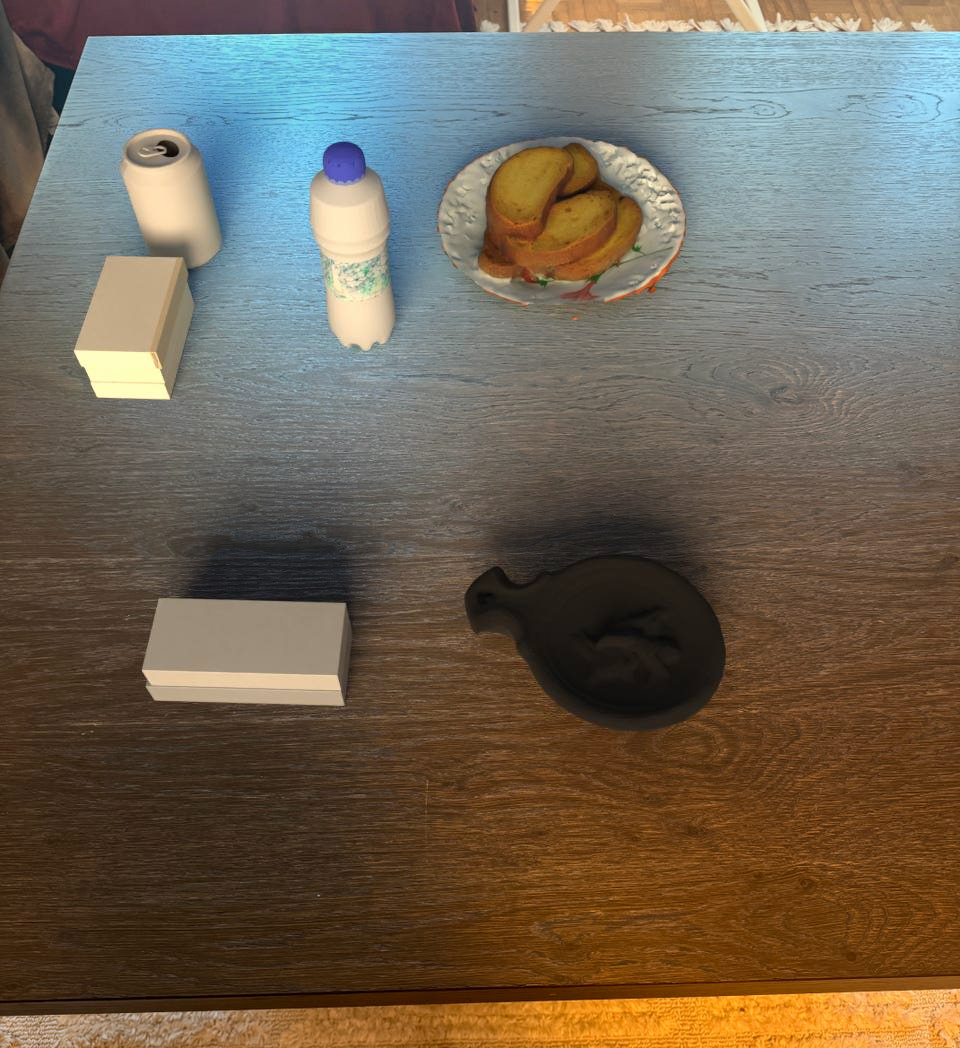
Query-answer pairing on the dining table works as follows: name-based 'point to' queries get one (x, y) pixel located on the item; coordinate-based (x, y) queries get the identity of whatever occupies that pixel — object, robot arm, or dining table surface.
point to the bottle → (353, 246)
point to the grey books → (249, 652)
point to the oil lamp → (609, 638)
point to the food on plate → (562, 222)
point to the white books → (147, 379)
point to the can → (171, 196)
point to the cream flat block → (132, 312)
